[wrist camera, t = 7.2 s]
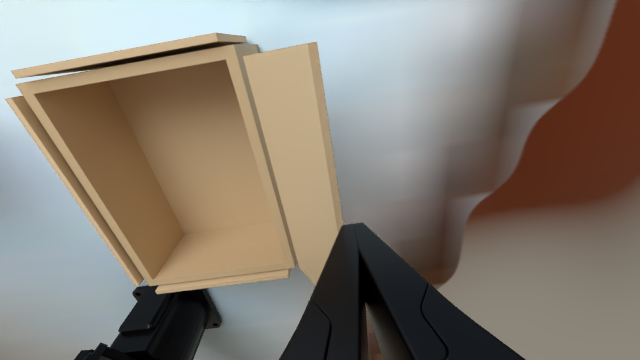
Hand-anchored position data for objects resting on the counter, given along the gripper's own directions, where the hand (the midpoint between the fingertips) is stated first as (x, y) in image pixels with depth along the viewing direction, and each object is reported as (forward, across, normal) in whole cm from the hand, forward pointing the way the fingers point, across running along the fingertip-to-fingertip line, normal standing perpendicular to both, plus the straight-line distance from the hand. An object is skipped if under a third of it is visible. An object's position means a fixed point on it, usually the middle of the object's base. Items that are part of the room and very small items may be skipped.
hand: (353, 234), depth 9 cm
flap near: (+3, +2, 0) cm, 3 cm away
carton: (+10, +9, 0) cm, 13 cm away
